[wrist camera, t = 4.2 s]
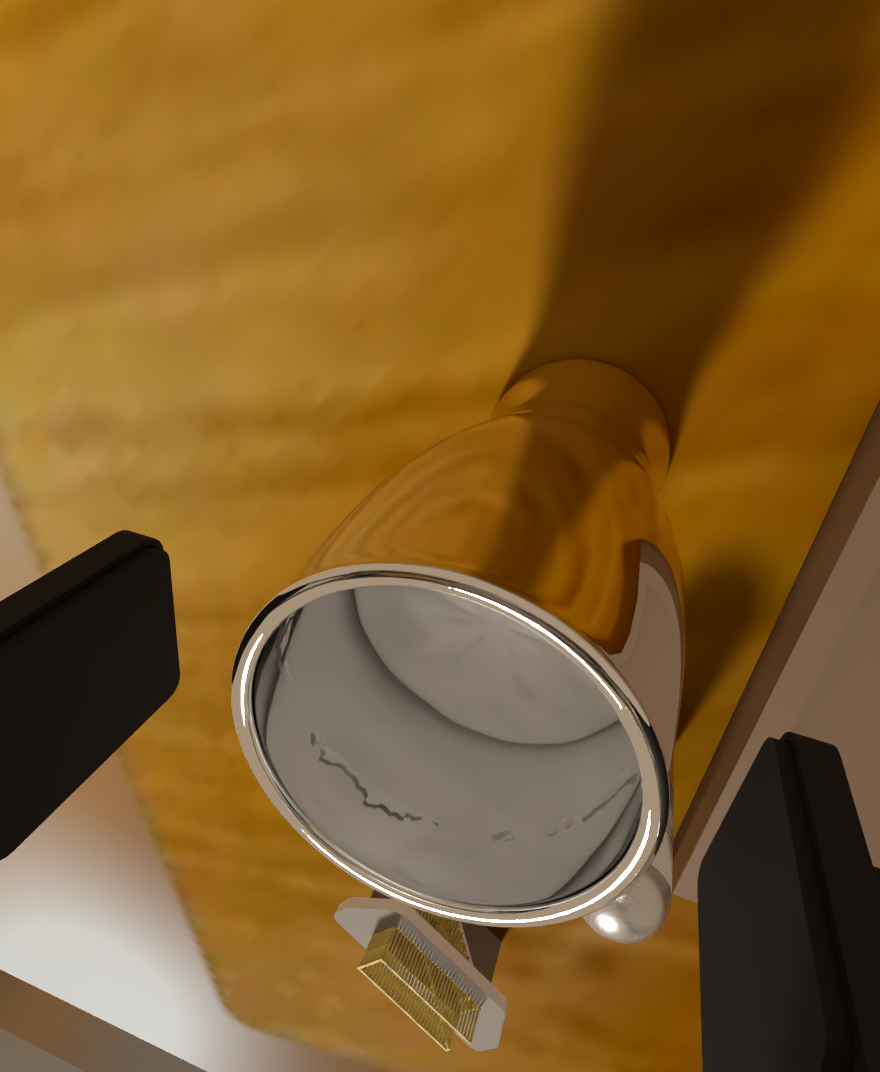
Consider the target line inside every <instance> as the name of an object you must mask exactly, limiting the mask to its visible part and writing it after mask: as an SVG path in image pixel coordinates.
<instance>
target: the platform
mask: <svg viewBox="0 0 880 1072" xmlns="http://www.w3.org/2000/svg"><path fill="white" fill-rule="evenodd" d="M334 918H335V920H336V921H337V922H338V923H339V924H340V925H341V926H342V927H343V928H344V929H345V930H346V931H347V932H348V933H349V934H350V935H351V936H352V937H353V938H355V939H356V940H357V941H358V942H359V943H360V944H361V945H362V946H363V947H364V948H365V949H366V951H365V953H364V956H363V958H362V960H361V963H360V965H359V966H358V967H357V969H359V970H360V971H361V972H362V973H363V974H364V975H365V976H366V977H367V978H368V979H369V980H370V981H371V982H372V983H374V984H375V985H376V986H377V987H378V988H379V989H380V990H381V991H382V992H383V993H384V994H385V995H386V996H387V997H388V998H390V999H391V1000H392V1001H393V1002H394V1003H395V1004H396V1005H397V1006H398V1007H399V1008H400V1009H401V1010H402V1011H403V1012H405V1013H406V1014H407V1015H408V1016H409V1017H410V1018H411V1019H412V1020H413V1021H414V1022H415V1023H416V1024H417V1025H418V1026H419V1027H421V1028H422V1029H423V1030H424V1031H425V1032H426V1033H427V1034H428V1035H429V1036H430V1037H431V1038H432V1039H433V1040H434V1041H436V1042H437V1043H438V1044H439V1045H440V1046H441V1047H442V1048H443V1049H444V1050H445V1051H449V1050H451V1049H450V1044H451V1041H452V1037H453V1034H454V1033H455V1034H457V1035H458V1036H459V1037H460V1038H461V1039H462V1040H463V1041H464V1042H465V1043H466V1044H467V1045H468V1046H469V1047H471V1048H472V1049H474V1050H477V1051H485V1050H489V1049H494V1048H497V1047H498V1045H499V1040H500V1036H501V1031H502V1027H503V1022H504V1017H505V1013H506V1008H507V1003H508V1000H507V998H506V997H505V996H504V995H503V994H502V993H501V992H500V991H499V990H498V989H497V988H496V987H495V986H494V985H493V984H491V981H492V977H493V973H494V969H495V965H496V961H497V958H498V954H499V950H500V946H501V941H500V940H499V939H498V938H497V937H496V936H495V935H494V934H493V933H492V932H491V931H490V930H489V929H488V928H487V927H486V926H483V925H476V924H470V923H465V922H460V921H455V920H451V919H447V918H443V917H440V916H436V915H433V914H430V913H427V912H424V911H421V910H418V909H416V908H413V907H410V906H408V905H405V904H403V903H401V902H398V901H396V900H394V899H392V898H390V897H387V896H385V895H383V894H382V893H380V892H378V891H376V890H374V891H373V893H372V895H371V897H370V898H364V897H351V898H349V899H347V900H345V901H343V902H341V903H340V904H339V906H338V908H337V910H336V912H335V914H334ZM378 962H379V963H378ZM377 963H378V966H377V968H376V970H375V973H374V975H373V978H371V976H372V973H373V971H374V969H375V966H376V964H377ZM372 964H374V965H373V968H372V970H371V972H370V975H368V973H369V971H370V968H371V966H372ZM380 964H382V966H381V968H380V971H379V973H378V976H377V978H376V981H374V979H375V976H376V974H377V972H378V969H379V967H380ZM367 966H369V967H368V969H367V972H365V970H366V968H367ZM383 967H385V969H384V971H383V974H382V976H381V979H380V981H379V984H377V982H378V979H379V977H380V974H381V972H382V969H383ZM362 968H364V969H363V970H362ZM386 970H388V971H387V974H386V976H385V979H384V981H383V984H382V986H380V985H381V982H382V980H383V977H384V975H385V972H386ZM389 972H391V974H390V976H389V979H388V982H387V984H386V987H385V989H383V988H384V985H385V983H386V980H387V977H388V975H389ZM392 975H394V977H393V979H392V982H391V984H390V987H389V990H388V992H386V991H387V988H388V985H389V983H390V980H391V978H392ZM395 978H397V979H396V982H395V984H394V987H393V990H392V992H391V995H389V994H390V991H391V988H392V986H393V983H394V980H395ZM398 980H399V981H400V982H399V985H398V987H397V990H396V993H395V995H394V998H392V996H393V994H394V991H395V988H396V986H397V983H398ZM401 983H402V987H401V990H400V993H399V995H398V998H397V1001H396V1000H395V999H396V997H397V994H398V991H399V989H400V986H401ZM404 986H406V987H405V990H404V993H403V995H402V998H401V1001H400V1004H399V1003H398V1002H399V999H400V997H401V994H402V991H403V989H404ZM407 988H408V989H409V990H408V992H407V995H406V998H405V1001H404V1004H403V1006H401V1005H402V1002H403V1000H404V997H405V994H406V991H407ZM410 991H411V995H410V998H409V1001H408V1004H407V1006H406V1009H404V1008H405V1005H406V1002H407V999H408V997H409V994H410ZM413 994H414V998H413V1001H412V1003H411V1006H410V1009H409V1012H407V1011H408V1008H409V1005H410V1002H411V999H412V996H413ZM416 997H417V1000H416V1003H415V1006H414V1009H413V1012H412V1015H411V1011H412V1008H413V1005H414V1002H415V999H416ZM419 1000H420V1003H419V1006H418V1009H417V1012H416V1015H415V1018H414V1017H413V1016H414V1013H415V1011H416V1008H417V1005H418V1002H419ZM422 1002H423V1005H422V1008H421V1011H420V1014H419V1017H418V1020H416V1019H417V1016H418V1013H419V1010H420V1007H421V1004H422ZM425 1005H426V1008H425V1011H424V1014H423V1017H422V1020H421V1023H419V1022H420V1019H421V1016H422V1013H423V1010H424V1007H425ZM428 1008H429V1010H428V1013H427V1016H426V1012H427V1009H428ZM431 1011H432V1013H431V1016H430V1019H429V1022H428V1025H427V1028H426V1024H427V1021H428V1018H429V1015H430V1012H431ZM433 1014H435V1015H434V1018H433ZM425 1016H426V1020H425V1023H424V1026H422V1025H423V1022H424V1019H425ZM436 1017H438V1018H437V1021H436V1024H435V1027H434V1023H435V1020H436ZM432 1018H433V1022H432V1025H431V1028H430V1031H428V1030H429V1027H430V1024H431V1021H432ZM439 1020H440V1023H439ZM438 1023H439V1027H438V1030H437V1033H436V1036H435V1032H436V1029H437V1026H438ZM445 1024H446V1028H445ZM433 1027H434V1031H433V1034H431V1033H432V1030H433ZM448 1027H449V1031H448V1034H447V1035H446V1033H447V1030H448ZM425 1028H426V1029H425ZM440 1028H442V1029H441V1032H440ZM439 1032H440V1036H439V1039H438V1040H437V1038H438V1035H439ZM450 1032H451V1034H450ZM442 1034H443V1038H442ZM434 1036H435V1037H434ZM449 1036H450V1037H449ZM441 1038H442V1042H441V1043H440V1041H441ZM448 1039H449V1041H448ZM444 1040H445V1044H444ZM443 1044H444V1045H443Z"/></svg>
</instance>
